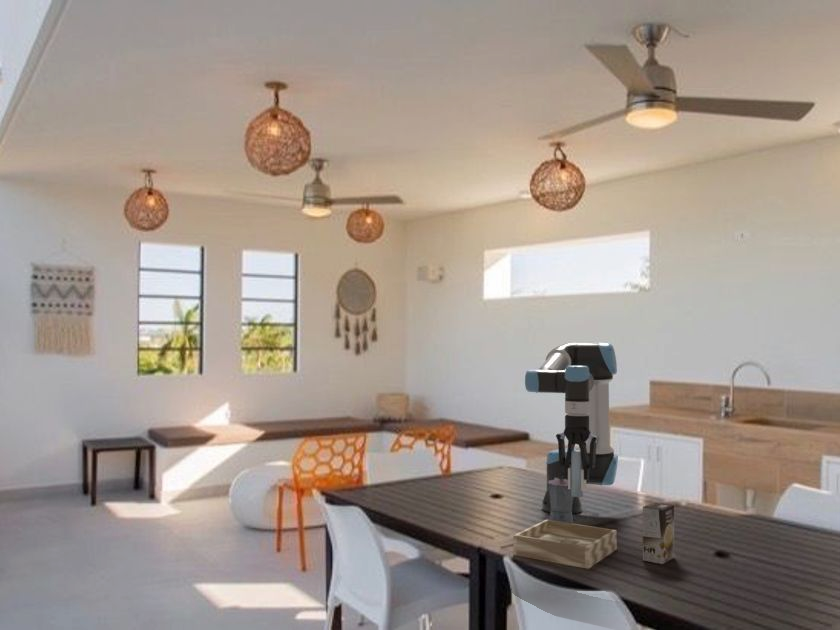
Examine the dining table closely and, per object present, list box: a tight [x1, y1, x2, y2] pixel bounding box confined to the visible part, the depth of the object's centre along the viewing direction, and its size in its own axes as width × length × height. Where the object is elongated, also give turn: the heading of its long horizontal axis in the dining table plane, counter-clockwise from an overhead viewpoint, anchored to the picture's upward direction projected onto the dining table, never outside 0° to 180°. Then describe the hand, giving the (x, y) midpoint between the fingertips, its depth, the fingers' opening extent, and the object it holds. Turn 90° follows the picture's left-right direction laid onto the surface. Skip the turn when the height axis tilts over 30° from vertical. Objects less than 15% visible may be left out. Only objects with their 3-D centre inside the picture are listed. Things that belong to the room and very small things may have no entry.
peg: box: [571, 449, 584, 498], centre depth 238 cm, size 4×4×14 cm
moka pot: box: [548, 474, 574, 524], centre depth 259 cm, size 10×15×20 cm, turn 15°
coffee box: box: [642, 502, 675, 565], centre depth 228 cm, size 9×6×16 cm
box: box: [512, 519, 618, 570], centre depth 235 cm, size 24×24×6 cm
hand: (577, 489), depth 238 cm, fingers closed on peg, 3 cm apart
